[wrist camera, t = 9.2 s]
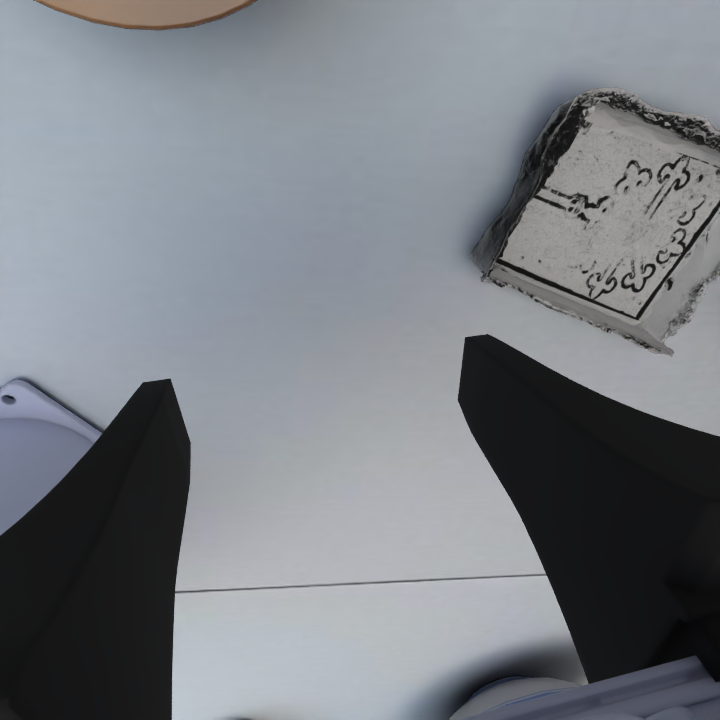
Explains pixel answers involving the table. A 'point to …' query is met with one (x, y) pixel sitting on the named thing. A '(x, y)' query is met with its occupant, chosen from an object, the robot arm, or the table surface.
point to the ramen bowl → (510, 694)
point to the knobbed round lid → (148, 12)
